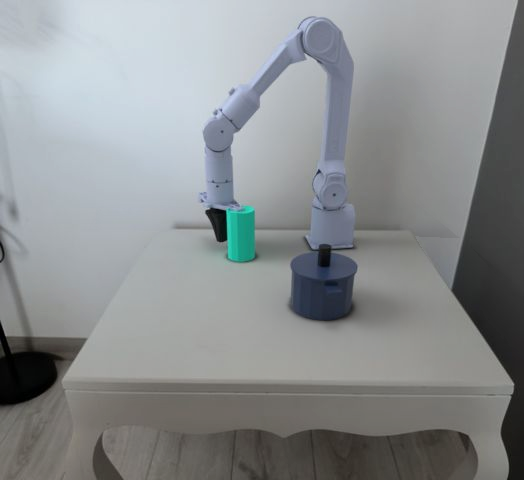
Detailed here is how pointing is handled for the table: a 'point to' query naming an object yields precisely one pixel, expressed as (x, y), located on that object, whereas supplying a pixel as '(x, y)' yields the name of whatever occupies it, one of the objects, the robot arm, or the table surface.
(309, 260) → the pot lid
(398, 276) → the table surface
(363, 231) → the table surface
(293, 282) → the pot
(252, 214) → the candle
